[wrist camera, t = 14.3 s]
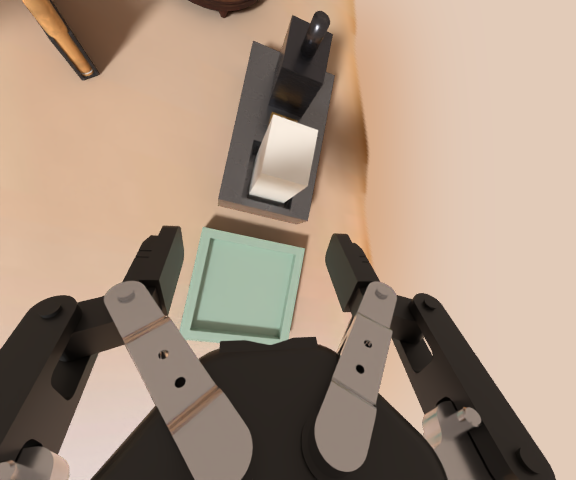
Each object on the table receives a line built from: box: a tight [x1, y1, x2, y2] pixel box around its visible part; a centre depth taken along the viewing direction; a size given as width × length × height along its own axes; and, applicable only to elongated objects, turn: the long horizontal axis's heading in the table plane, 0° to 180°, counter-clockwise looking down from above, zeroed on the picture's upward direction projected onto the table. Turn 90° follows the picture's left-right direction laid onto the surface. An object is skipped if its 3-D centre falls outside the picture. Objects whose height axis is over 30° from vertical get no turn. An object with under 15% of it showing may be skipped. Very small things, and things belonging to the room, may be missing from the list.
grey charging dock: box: [218, 11, 335, 224], centre depth 25 cm, size 10×18×13 cm, turn 169°
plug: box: [247, 114, 318, 206], centre depth 25 cm, size 4×5×10 cm
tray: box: [179, 227, 305, 345], centre depth 29 cm, size 12×12×2 cm
